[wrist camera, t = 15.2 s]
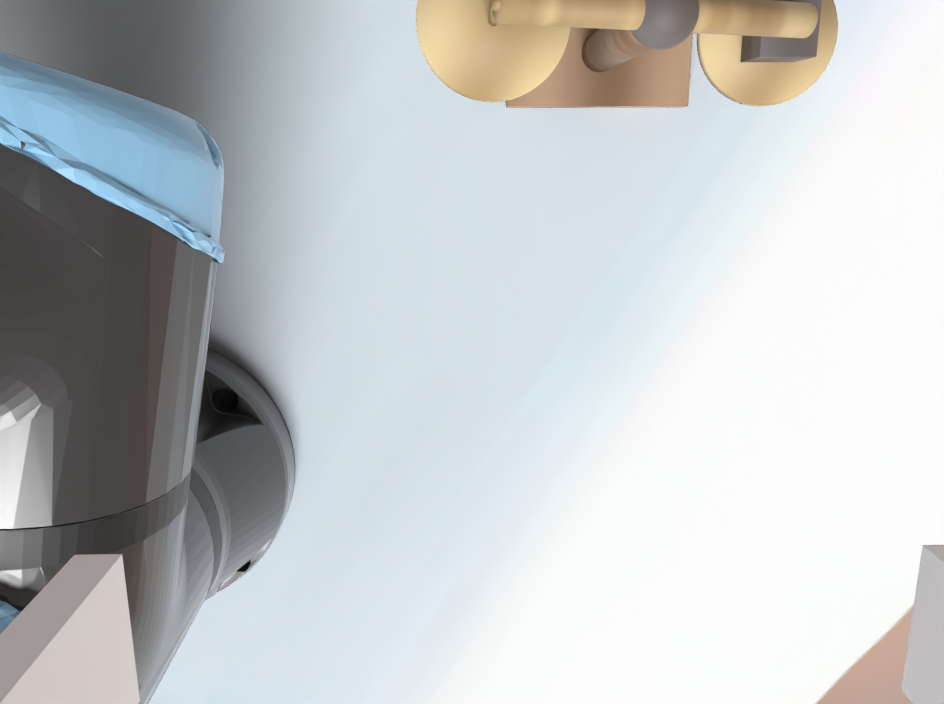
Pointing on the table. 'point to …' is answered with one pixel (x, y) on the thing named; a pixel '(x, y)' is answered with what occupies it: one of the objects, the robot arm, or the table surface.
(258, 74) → the table surface
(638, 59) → the balance
